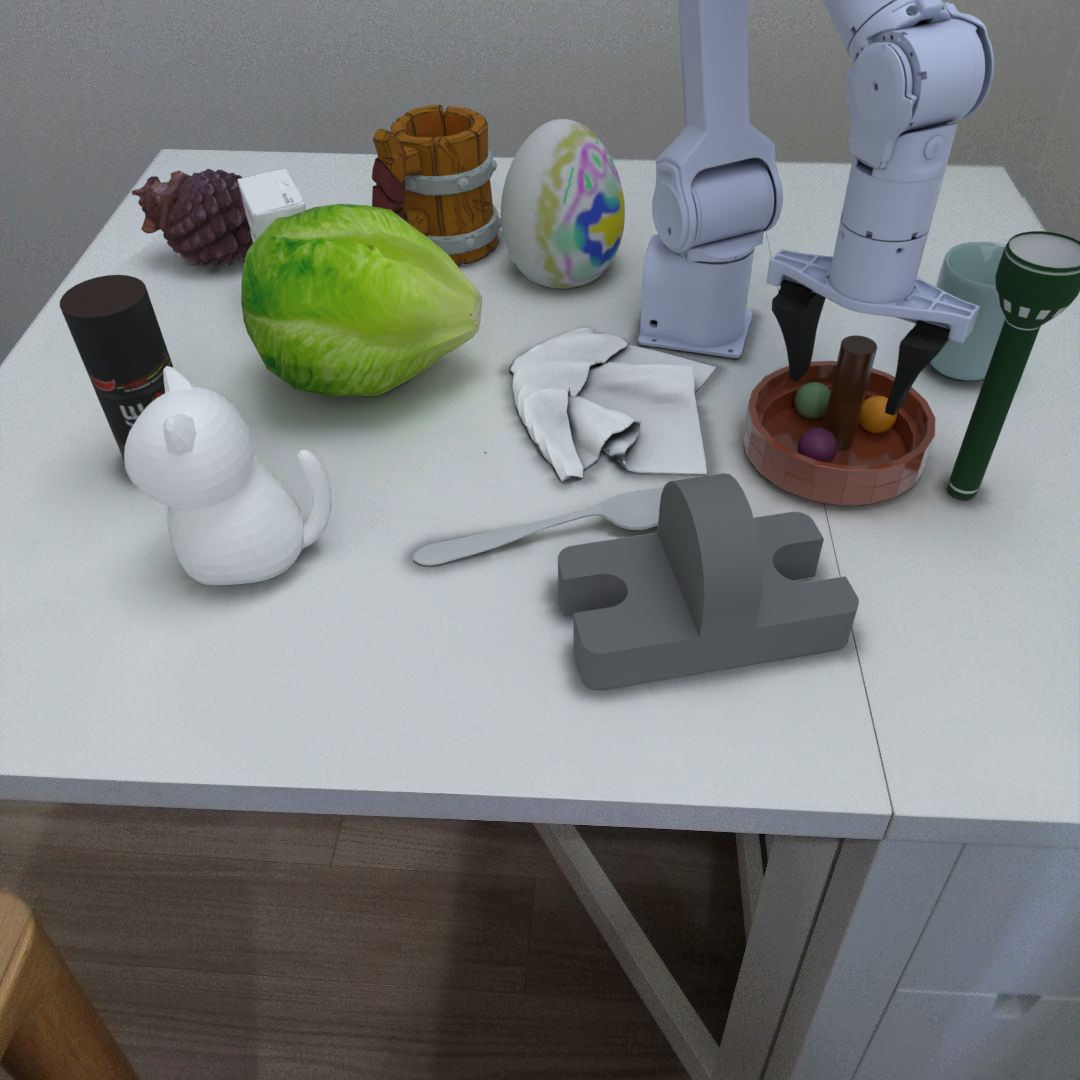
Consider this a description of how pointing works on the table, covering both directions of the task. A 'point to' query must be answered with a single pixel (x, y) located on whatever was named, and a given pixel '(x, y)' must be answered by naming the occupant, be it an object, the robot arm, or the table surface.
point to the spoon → (619, 509)
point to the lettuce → (353, 300)
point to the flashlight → (1015, 339)
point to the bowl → (853, 474)
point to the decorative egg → (562, 206)
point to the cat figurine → (220, 487)
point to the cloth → (610, 404)
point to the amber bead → (876, 415)
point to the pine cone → (198, 215)
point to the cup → (973, 282)
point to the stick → (849, 388)
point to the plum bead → (818, 445)
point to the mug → (440, 178)
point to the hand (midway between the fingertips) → (845, 390)
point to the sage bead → (812, 400)
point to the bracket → (701, 590)
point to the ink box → (269, 199)
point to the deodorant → (118, 346)
